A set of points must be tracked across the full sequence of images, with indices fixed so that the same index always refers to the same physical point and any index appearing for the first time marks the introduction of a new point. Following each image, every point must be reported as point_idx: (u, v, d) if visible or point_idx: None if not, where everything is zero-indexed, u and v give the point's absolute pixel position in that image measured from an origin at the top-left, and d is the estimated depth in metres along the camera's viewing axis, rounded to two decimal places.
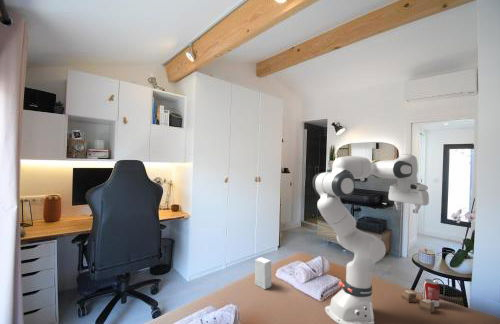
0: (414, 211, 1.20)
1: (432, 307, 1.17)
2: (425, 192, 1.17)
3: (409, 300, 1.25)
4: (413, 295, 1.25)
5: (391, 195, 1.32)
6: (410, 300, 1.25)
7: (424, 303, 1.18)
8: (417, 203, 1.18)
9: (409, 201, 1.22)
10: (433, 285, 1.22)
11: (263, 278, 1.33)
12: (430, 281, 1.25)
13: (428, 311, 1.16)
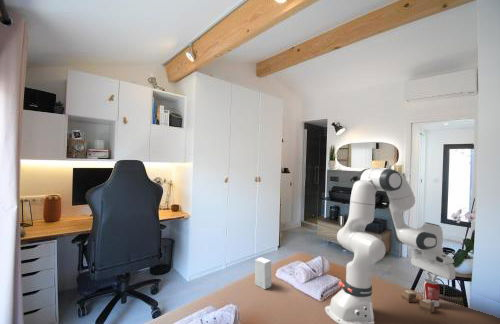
0: (431, 279, 1.23)
1: (432, 307, 1.17)
2: (451, 266, 1.16)
3: (409, 300, 1.25)
4: (413, 295, 1.25)
5: (414, 260, 1.31)
6: (410, 300, 1.25)
7: (424, 303, 1.18)
8: (443, 276, 1.17)
9: (434, 272, 1.21)
10: (433, 285, 1.21)
11: (263, 278, 1.33)
12: (430, 281, 1.25)
13: (428, 311, 1.16)
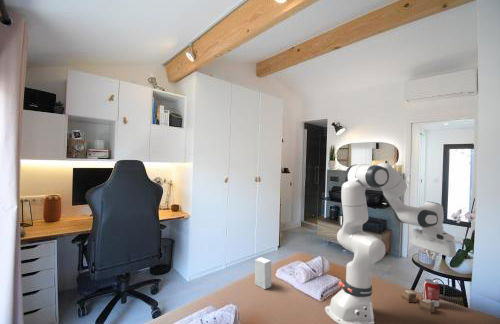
0: (432, 258, 1.23)
1: (432, 307, 1.17)
2: (452, 243, 1.16)
3: (409, 300, 1.25)
4: (413, 295, 1.25)
5: (415, 240, 1.32)
6: (410, 300, 1.25)
7: (424, 303, 1.18)
8: (443, 253, 1.18)
9: (435, 250, 1.21)
10: (433, 285, 1.21)
11: (263, 278, 1.33)
12: (430, 281, 1.25)
13: (428, 311, 1.16)
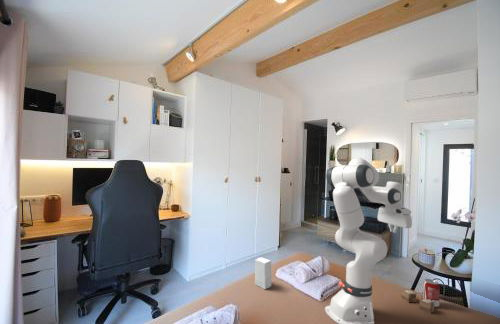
0: (393, 231, 1.39)
1: (432, 307, 1.17)
2: (408, 216, 1.32)
3: (409, 300, 1.25)
4: (413, 295, 1.25)
5: (380, 216, 1.47)
6: (410, 300, 1.25)
7: (424, 303, 1.18)
8: (402, 226, 1.33)
9: (395, 223, 1.37)
10: (433, 285, 1.21)
11: (263, 278, 1.33)
12: (430, 281, 1.25)
13: (428, 311, 1.16)
